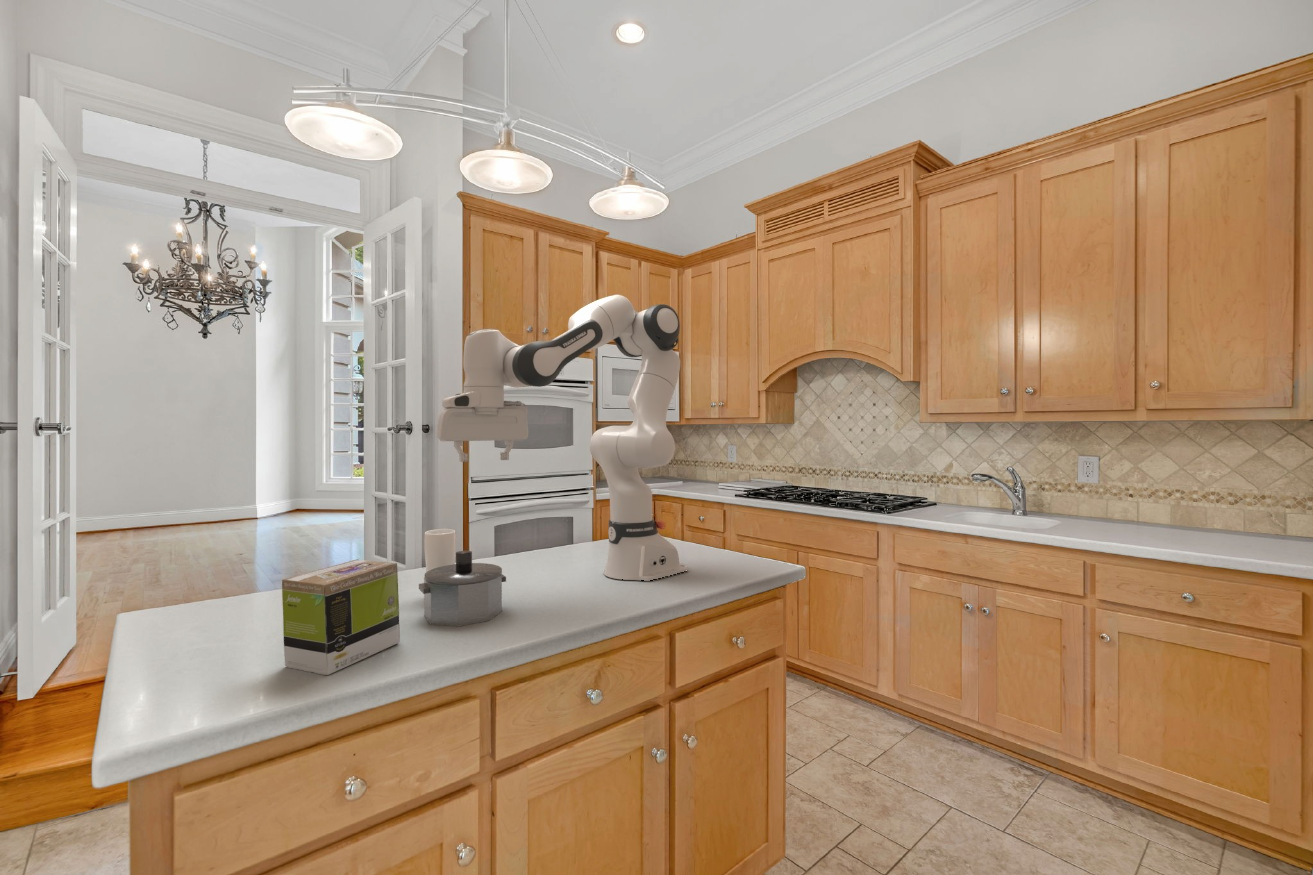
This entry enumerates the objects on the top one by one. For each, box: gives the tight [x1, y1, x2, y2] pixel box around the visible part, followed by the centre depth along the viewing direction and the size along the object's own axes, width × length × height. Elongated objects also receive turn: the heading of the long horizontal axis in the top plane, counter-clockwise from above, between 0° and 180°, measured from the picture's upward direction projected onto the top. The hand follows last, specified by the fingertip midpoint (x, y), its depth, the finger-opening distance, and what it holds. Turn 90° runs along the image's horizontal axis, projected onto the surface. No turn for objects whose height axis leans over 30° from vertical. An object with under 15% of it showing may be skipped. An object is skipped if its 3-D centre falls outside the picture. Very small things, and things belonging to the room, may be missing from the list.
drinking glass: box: [423, 528, 457, 573], centre depth 134 cm, size 7×7×15 cm
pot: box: [418, 573, 507, 627], centre depth 122 cm, size 17×14×8 cm
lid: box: [424, 550, 503, 585], centre depth 122 cm, size 15×15×6 cm
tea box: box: [281, 558, 401, 676], centre depth 100 cm, size 15×10×15 cm
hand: (484, 460), depth 135 cm, fingers open, 8 cm apart
